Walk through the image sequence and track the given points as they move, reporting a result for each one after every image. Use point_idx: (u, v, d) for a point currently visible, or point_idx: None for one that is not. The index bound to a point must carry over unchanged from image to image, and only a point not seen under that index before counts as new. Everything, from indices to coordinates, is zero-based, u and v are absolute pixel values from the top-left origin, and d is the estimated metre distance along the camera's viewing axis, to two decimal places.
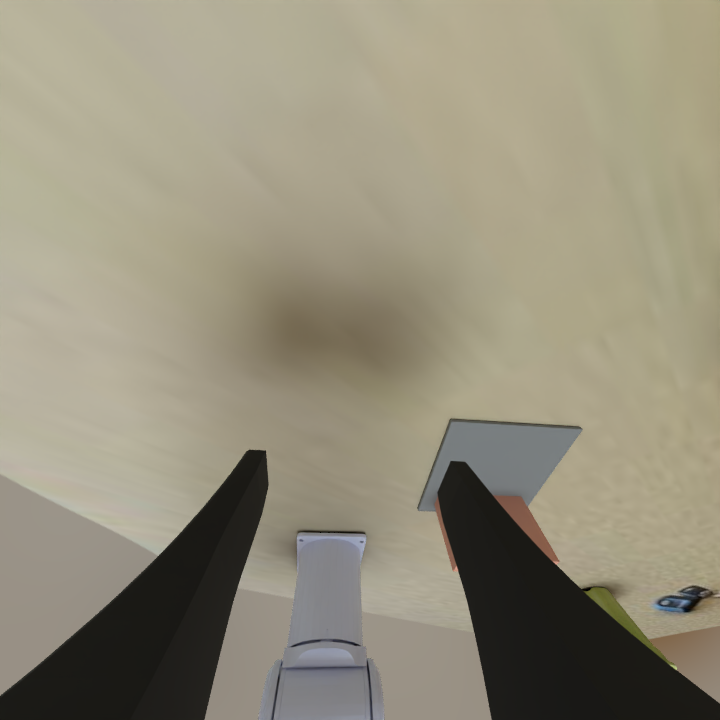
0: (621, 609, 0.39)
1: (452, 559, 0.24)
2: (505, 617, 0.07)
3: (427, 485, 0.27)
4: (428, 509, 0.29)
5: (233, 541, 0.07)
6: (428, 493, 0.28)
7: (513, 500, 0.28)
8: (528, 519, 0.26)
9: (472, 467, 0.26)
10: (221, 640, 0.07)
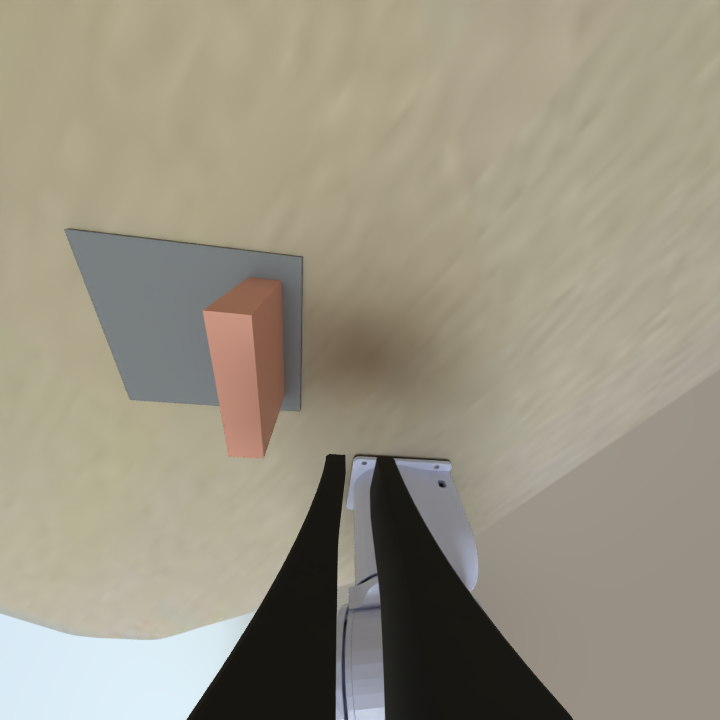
0: None
1: None
2: (396, 617, 0.07)
3: None
4: (296, 400, 0.21)
5: None
6: None
7: None
8: None
9: (197, 365, 0.19)
10: None
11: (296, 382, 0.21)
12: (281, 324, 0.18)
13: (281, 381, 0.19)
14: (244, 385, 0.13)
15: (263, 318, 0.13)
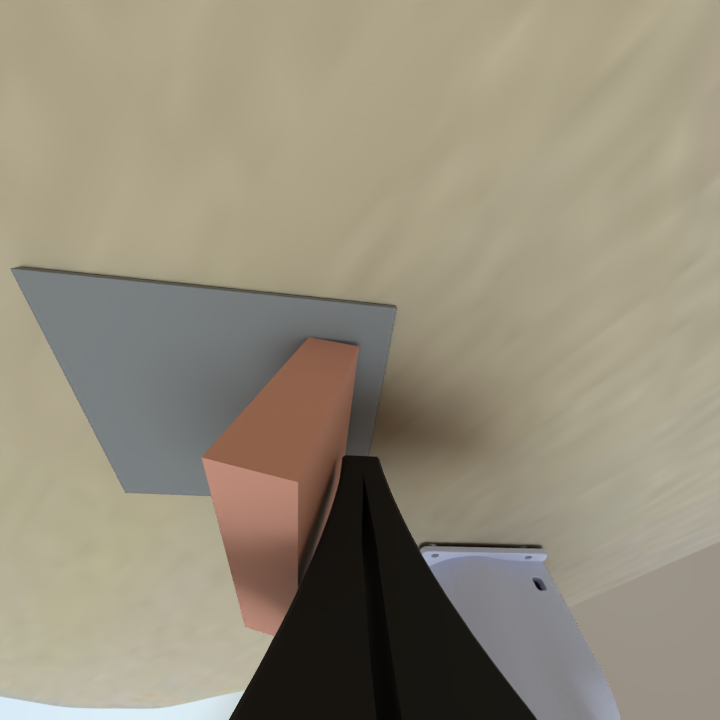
0: None
1: None
2: (372, 617, 0.07)
3: None
4: None
5: None
6: None
7: None
8: None
9: None
10: None
11: None
12: (349, 409, 0.11)
13: None
14: (273, 567, 0.07)
15: (323, 445, 0.07)
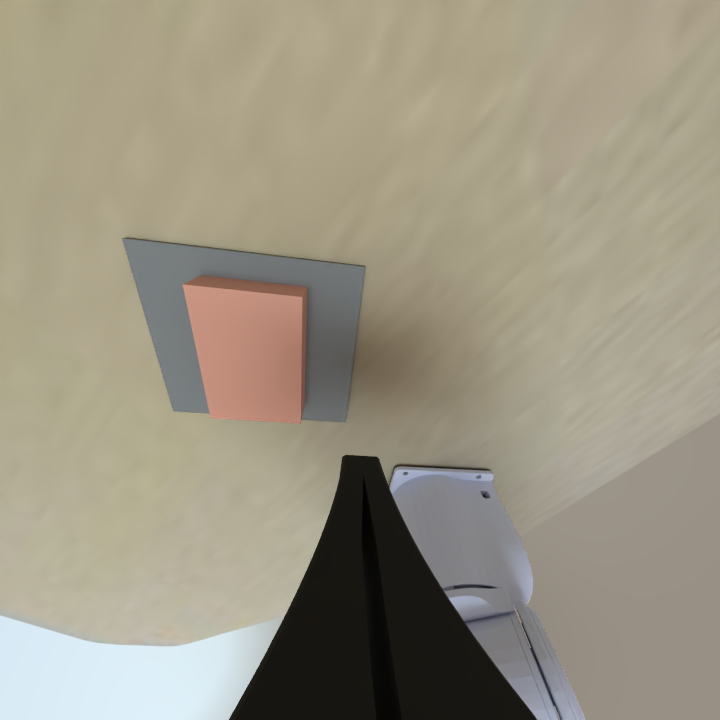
0: None
1: None
2: (372, 617, 0.07)
3: None
4: (342, 411, 0.21)
5: None
6: (306, 415, 0.21)
7: None
8: None
9: None
10: None
11: (345, 393, 0.20)
12: (293, 342, 0.15)
13: (286, 399, 0.18)
14: None
15: (219, 303, 0.14)
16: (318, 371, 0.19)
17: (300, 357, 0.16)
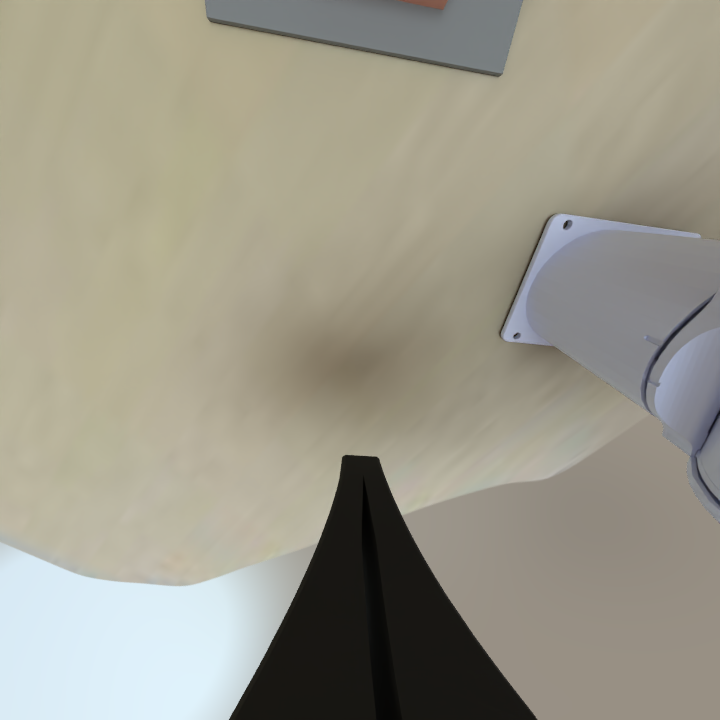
0: None
1: None
2: (372, 617, 0.07)
3: (411, 56, 0.12)
4: (505, 38, 0.12)
5: None
6: (439, 48, 0.12)
7: None
8: None
9: None
10: None
11: None
12: None
13: None
14: None
15: None
16: None
17: None
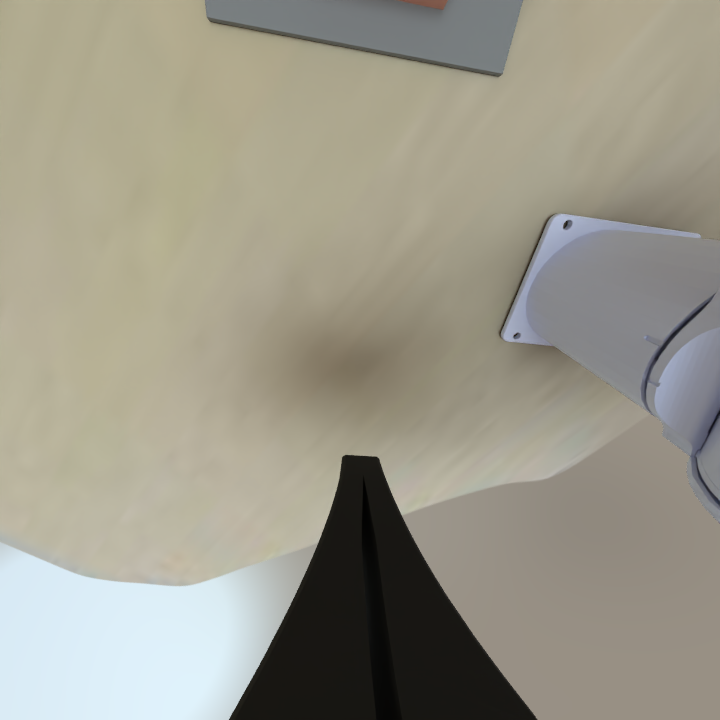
0: None
1: None
2: (372, 617, 0.07)
3: (411, 56, 0.12)
4: (505, 38, 0.12)
5: None
6: (439, 48, 0.12)
7: None
8: None
9: None
10: None
11: None
12: None
13: None
14: None
15: None
16: None
17: None
